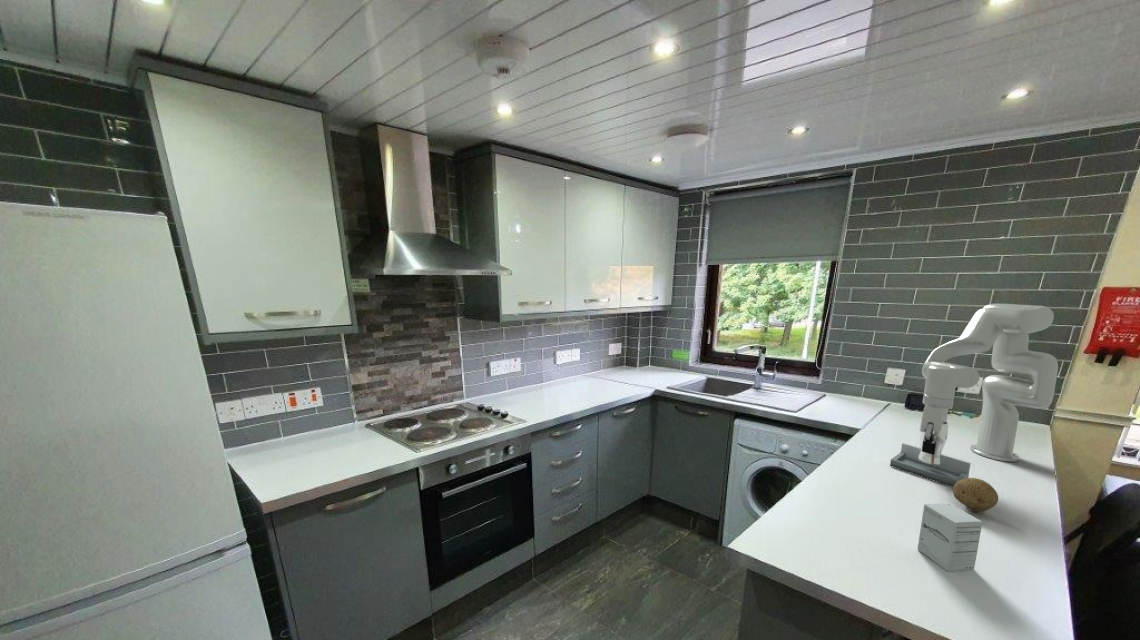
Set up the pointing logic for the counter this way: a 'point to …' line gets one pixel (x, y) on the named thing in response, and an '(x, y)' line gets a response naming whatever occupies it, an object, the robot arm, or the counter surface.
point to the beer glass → (939, 447)
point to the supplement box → (949, 536)
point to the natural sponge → (975, 494)
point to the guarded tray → (931, 466)
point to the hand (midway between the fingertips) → (930, 450)
